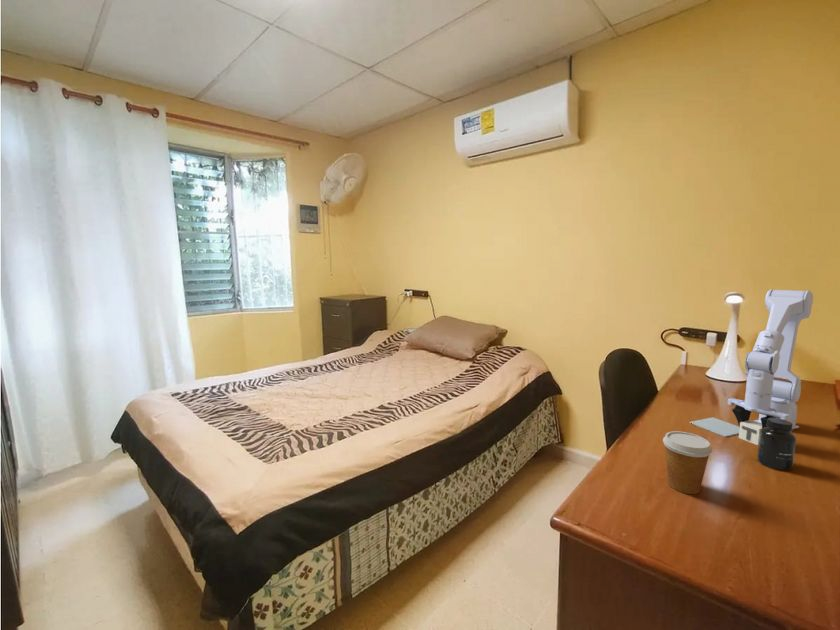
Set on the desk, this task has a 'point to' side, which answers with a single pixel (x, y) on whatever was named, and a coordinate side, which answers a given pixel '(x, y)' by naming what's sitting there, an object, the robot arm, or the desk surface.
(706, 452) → the disposable coffee cup
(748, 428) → the letter block
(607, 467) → the desk surface
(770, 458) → the supplement bottle
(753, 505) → the desk surface
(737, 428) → the slate mat
